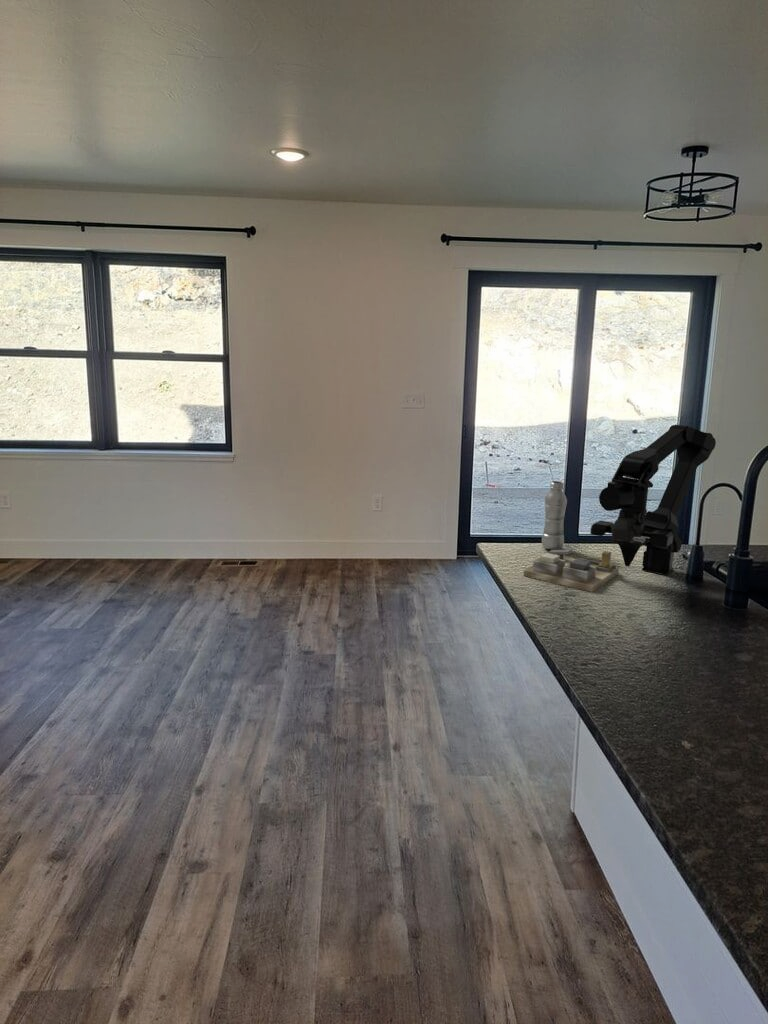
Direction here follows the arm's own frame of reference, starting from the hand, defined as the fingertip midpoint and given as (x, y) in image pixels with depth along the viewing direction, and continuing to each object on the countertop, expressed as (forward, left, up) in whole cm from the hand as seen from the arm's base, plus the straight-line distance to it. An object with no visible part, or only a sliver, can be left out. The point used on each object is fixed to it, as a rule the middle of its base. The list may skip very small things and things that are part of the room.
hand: (627, 566), depth 163 cm
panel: (+12, +6, -4) cm, 14 cm away
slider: (+6, 0, -2) cm, 6 cm away
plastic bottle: (+26, -13, -4) cm, 29 cm away
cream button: (+16, +11, 0) cm, 20 cm away
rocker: (+18, 0, 0) cm, 18 cm away
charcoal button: (+8, +11, 0) cm, 14 cm away
